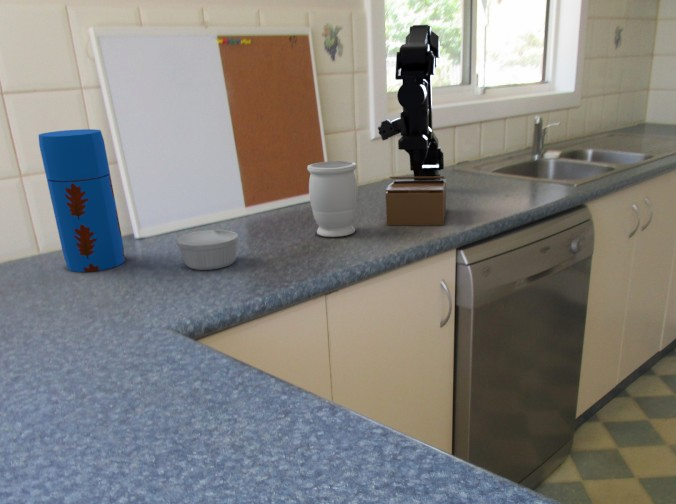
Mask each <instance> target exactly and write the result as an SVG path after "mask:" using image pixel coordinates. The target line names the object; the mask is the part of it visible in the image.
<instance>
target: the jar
mask: <svg viewBox="0 0 676 504" xmlns="http://www.w3.org/2000/svg"><path fill="white" fill-rule="evenodd" d="M356 169H357V163H356V162H353V161H344V160H332V161H330V160H329V161H320V162H314V163H310V164H308V165H307V171H308V173H309V174H310V175H309V180H308V196H309V203H310V206H311V210H312V215H313V218H314V221H315V223H316V225H317V226H318V228H317V230H316V234H317V235H318V236H321V237H325V238H340V237H341V238H342V237H347V236H350V235H353V234H354V233H355V232H356V229H355V227H354V225H353V224H354V221H355V219H356V216H357V205H358V198H359V197H358V195H359V193H358V191H359V190H358V183H357V177H356V174H355V171H356Z"/></svg>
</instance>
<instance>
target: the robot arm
mask: <svg viewBox="0 0 676 504" xmlns="http://www.w3.org/2000/svg"><path fill="white" fill-rule="evenodd" d="M440 44H441V43H440V36H439V35H438V34H436V33H435V32H434V31H433V30H432V26H431V25H429V24H413V25H411V26H409V33H408V34H407V35H406V36H405V43H404V44H401V46H399V49H398V50H399V51H396V60H395V81H397V80H398V81H402V84H401V85H400V86H399V88H398V90H397V93H396V94H397V95H396V97H397V101H398V104H399V105H400V106H401V107H402V111H401V112H400V113H399V114H400V115H399V116H400V117H398V118H395V119H393V120H390V119H389V118H387V119H385V120H382V121H381V123H380V125H378V126H377V130H378V135H379V136H380V137H381V140H382V141H387V140H388V139H389V138H392V137H395V136H397V135H399V134H400V136H401V137H400V138H398V141H397V144H398V145H397V148H398V150H399V151H403V150H404V152H406V153H407V154H408V156H409V168H410V171H411V172H413V177H427V176H441V174H440V172H439V171H442V170H445V163H444V160H445V159H444V152H443V151H442V150H443V149H442V147H440V145H439V138H438V137H437V135H436V134H435V132H434V130H433V81H432V79H433V78H432V76H434V75H435V69H436V68H437V65H438V59H440V58H441V46H440ZM416 180H441V179H413V181H416Z"/></svg>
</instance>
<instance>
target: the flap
mask: <svg viewBox="0 0 676 504" xmlns="http://www.w3.org/2000/svg"><path fill="white" fill-rule="evenodd" d="M389 179H391V180H414V179H440V180H447V179H446V176H444V175H440V176H427V177H414V176H389Z"/></svg>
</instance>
